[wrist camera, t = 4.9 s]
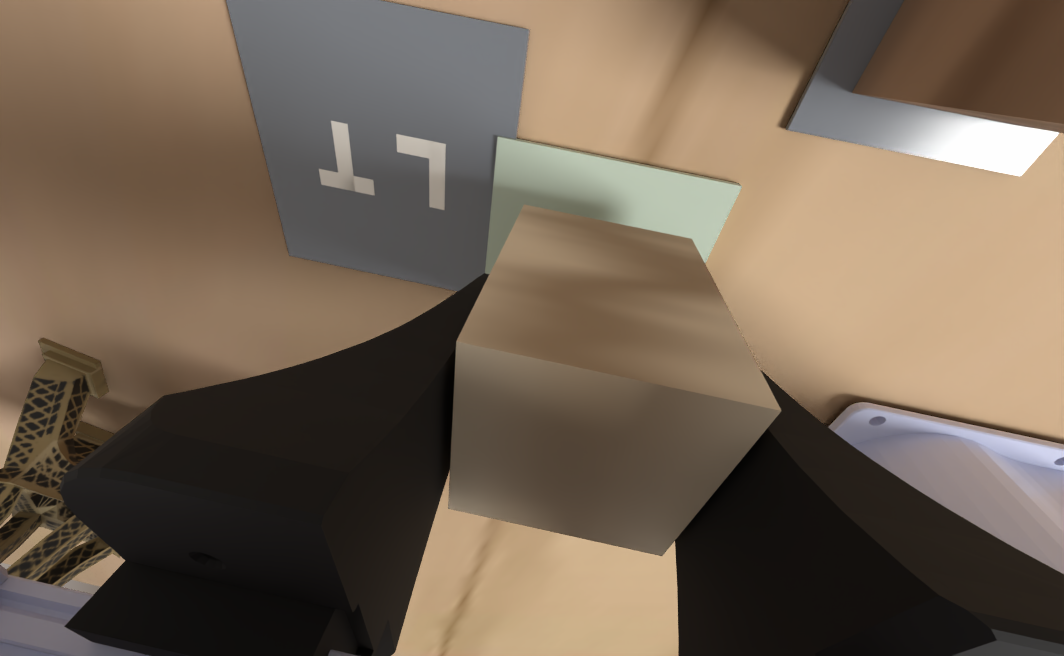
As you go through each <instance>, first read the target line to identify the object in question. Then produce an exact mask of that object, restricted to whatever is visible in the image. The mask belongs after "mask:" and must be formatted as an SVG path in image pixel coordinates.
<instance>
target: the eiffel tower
mask: <svg viewBox="0 0 1064 656" xmlns="http://www.w3.org/2000/svg"><path fill="white" fill-rule="evenodd" d="M38 342H39V345H40V347H41V349H42V352H43V354H42V355H43V358H44V360H45V363H44V364H43V365H42V366H41V368H40V369H39V370H38V372H37V373H36V374H35V376H34V378H33V381H32V384H31V387H30V390H29V393H28V395H27V398H26V401H25V404H24V407H23V410H22V412H21V415H20V418H19V421H18V424H17V427H16V430H15V433H14V436H13V439H12V442H11V446H10V449H9V452H8V455H7V458H6V461H5V464H4V468H2V469H0V525H1V524H2V523H3V522H4V521H5V520H6V519H7V518H8V517H9V516H10V515H11V513H12V518H11V519H10V520H9V521H8V522H7V523H6V524H5V525H4V526H3V527H2V528H0V563H2V562H3V561H4V560H5V559H6V558H7V557H8V556H10V555H11V554H12V553H13V552H14V551H15V550H16V549H18V548H19V547H20V546H21V545H22V544H23V543H24V542H25V541H26V539H27V538H28V537H29V536H30V535H31V534H32V533H33V532H34V531H35V530H36V529H37V528H38V527H44V528H47V529H50V530H52V531H53V532H51V533H50V534H49V535H47V536H46V537H45V538H44V539H42V540H41V541H40V542H39V543H38V544H36V545H35V546H34V547H33V548H32V549H30V550H29V551H28V552H27V553H26V554H24V555H23V556H22V557H21V558H20V559H19V560H17V561H16V562H15V563H14V564H13V565H11V566H10V567H9V568H8V569H7V572H8V575H12V576H16V577H20V578H25V579H29V580H33V581H38V582H42V583H46V584H51V585H55V586H59V587H62V586H63V585H64V584H66V583H67V582H68V581H70V580H71V579H72V578H74V577H75V576H76V575H78V574H79V573H80V572H82V571H84V570H85V569H87V568H89V567H91V566H92V565H94V564H96V563H97V562H99V561H101V560H102V559H104V558H106V557H107V556H109V555H111V554H112V553H113V554H114V555H116V556H117V557H119V558H120V555H119V554H118V553H117V552H115V551H114V550H113V549H112V548H111V547H110V546H109V545H108V544H106V543H105V542H104V541H103V540H102V539H101V538H100V537H98V536H97V535H96V534H95V533H94V532H93V531H92V530H91V529H89V528H88V527H87V526H86V525H85V524H84V523H83V522H82V521H80V520H79V519H78V518H77V517H76V516H75V515H74V514H73V513H72V511H71V510H70V509H69V508H68V507H67V506H66V505H65V503H64V501H63V498H62V496H61V494H60V483H61V481H62V478H63V476H64V474H65V473H66V472H68V471H69V470H70V469H71V468H73V467H74V466H75V465H76V464H78V463H79V462H80V461H82V460H83V459H84V458H85V457H87V456H88V455H89V454H90V453H92V452H93V451H94V450H96V449H97V448H98V447H99V446H101V445H102V444H103V443H104V442H106V441H107V440H108V439H110V438H111V437H112V436H113V435H115V434H113V433H110V432H108V431H105V430H103V429H100V428H97V427H95V426H92V425H89V424H87V423H84V422H81V421H80V419H81V417H82V414H83V412H84V409H85V406H86V404H87V401H88V398H89V396H93V397H96V398H98V399H99V398H100V397H101V396H103V395H104V394H106V393H107V392H109V389H108V386H107V383H106V379H105V376H104V373H103V369H102V366H101V362H100V361H99V360H96V359H94V358H91V357H89V356H87V355H84V354H82V353H79V352H77V351H74V350H72V349H69V348H67V347H64V346H62V345H60V344H57V343H55V342H52V341H50V340H47V339H45V338H43V339H41V340H39V341H38ZM75 433H76V435H75ZM74 435H75V436H74ZM81 541H86V542H85V543H83V544H81V545H79V546H77V547H75V546H76V545H78V544H79V543H80V542H81ZM74 547H75V548H74ZM71 549H72V550H71Z"/></svg>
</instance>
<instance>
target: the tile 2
mask: <svg viewBox="0 0 1064 656" xmlns="http://www.w3.org/2000/svg"><path fill="white" fill-rule="evenodd" d="M903 2H904V0H850V1H849V3H848V5H847V7H846V9H845V11H844V13H843V15H842V17H841V19H840V21H839V23H838V25H837V27H836V29H835V31H834V33H833V35H832V37H831V39H830V41H829V43H828V45H827V47H826V49H825V51H824V53H823V55H822V57H821V59H820V61H819V63H818V65H817V67H816V69H815V71H814V73H813V75H812V77H811V79H810V81H809V83H808V85H807V87H806V89H805V91H804V93H803V95H802V97H801V99H800V101H799V103H798V105H797V107H796V109H795V111H794V113H793V115H792V117H791V119H790V121H789V123H788V125H787V127H786V130H790V131H795V132H800V133H805V134H810V135H815V136H820V137H825V138H830V139H835V140H840V141H845V142H850V143H855V144H860V145H865V146H870V147H875V148H880V149H885V150H890V151H895V152H900V153H905V154H910V155H915V156H920V157H925V158H930V159H935V160H940V161H945V162H950V163H955V164H960V165H965V166H970V167H975V168H980V169H985V170H991V171H996V172H1001V173H1006V174H1011V175H1016V176H1021V175H1022V174H1023V173H1024V172H1025V171H1026V170H1027V169H1028V167H1029V166H1030V165H1031V164H1032V163H1033V162H1034V161H1035V160H1036V159H1037V157H1038V156H1039V155H1040V154H1041V153H1042V152H1043V151H1044V150H1045V148H1046V147H1047V146H1048V145H1049V144H1050V143H1051V142H1052V141H1053V140H1054V138H1055V137H1056V136H1057V135H1058V134H1059V132H1053V131H1047V130H1041V129H1035V128H1029V127H1023V126H1017V125H1012V124H1007V123H1002V122H997V121H992V120H987V119H982V118H977V117H971V116H966V115H961V114H956V113H951V112H946V111H941V110H936V109H931V108H926V107H921V106H915V105H910V104H905V103H900V102H895V101H890V100H885V99H880V98H875V97H870V96H865V95H859V94H854V93H852V92H853V90H854V88H855V86H856V85H857V83H858V81H859V79H860V77H861V76H862V74H863V72H864V70H865V69H866V67H867V65H868V63H869V62H870V60H871V58H872V56H873V55H874V53H875V51H876V49H877V47H878V46H879V44H880V42H881V40H882V39H883V37H884V35H885V33H886V32H887V30H888V28H889V26H890V25H891V23H892V21H893V19H894V17H895V16H896V14H897V12H898V10H899V9H900V7H901V5H902V3H903Z"/></svg>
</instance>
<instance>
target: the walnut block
mask: <svg viewBox="0 0 1064 656" xmlns="http://www.w3.org/2000/svg"><path fill="white" fill-rule="evenodd" d="M852 93H854V94H859V95H865V96H870V97H875V98H880V99H885V100H890V101H895V102H900V103H905V104H910V105H915V106H921V107H926V108H931V109H936V110H941V111H946V112H951V113H956V114H961V115H966V116H971V117H977V118H982V119H987V120H992V121H997V122H1002V123H1007V124H1012V125H1017V126H1023V127H1029V128H1035V129H1041V130H1047V131H1053V132H1059V133H1064V0H904V2H903V3H902V5H901V7H900V9H899V10H898V12H897V14H896V16H895V17H894V19H893V21H892V23H891V25H890V26H889V28H888V30H887V32H886V33H885V35H884V37H883V39H882V40H881V42H880V44H879V46H878V47H877V49H876V51H875V53H874V55H873V56H872V58H871V60H870V62H869V63H868V65H867V67H866V69H865V70H864V72H863V74H862V76H861V77H860V79H859V81H858V83H857V85H856V86H855V88H854V90H853V92H852Z"/></svg>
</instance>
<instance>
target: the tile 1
mask: <svg viewBox="0 0 1064 656" xmlns="http://www.w3.org/2000/svg"><path fill="white" fill-rule="evenodd" d="M226 2H227V6H228V10H229V14H230V18H231V22H232V26H233V30H234V34H235V38H236V42H237V46H238V50H239V54H240V58H241V62H242V66H243V70H244V74H245V78H246V83H247V87H248V91H249V95H250V99H251V103H252V107H253V111H254V115H255V119H256V123H257V127H258V131H259V135H260V139H261V143H262V147H263V151H264V155H265V159H266V163H267V167H268V171H269V175H270V179H271V183H272V187H273V191H274V196H275V200H276V204H277V208H278V212H279V216H280V220H281V224H282V228H283V232H284V236H285V240H286V244H287V248H288V252H289V256H294V257H298V258H303V259H308V260H312V261H317V262H322V263H327V264H331V265H336V266H341V267H345V268H350V269H355V270H360V271H364V272H369V273H374V274H378V275H383V276H388V277H393V278H397V279H402V280H407V281H411V282H416V283H421V284H426V285H430V286H435V287H440V288H444V289H449V290H454V291H459V290H461V289H462V288H464V287H465V286H466V285H468V284H469V283H471V282H472V281H473V280H475V279H476V278H478V277H479V276H481V275H482V274H484V273H485V267H486V256H487V245H488V235H489V224H490V213H491V203H492V192H493V181H494V171H495V160H496V149H497V139H498V136H502V137H507V138H512V139H517V132H518V124H519V116H520V107H521V99H522V91H523V83H524V75H525V66H526V58H527V50H528V42H529V33H530V30H528V29H523V28H518V27H513V26H508V25H503V24H498V23H493V22H488V21H483V20H477V19H472V18H467V17H462V16H457V15H452V14H447V13H442V12H437V11H432V10H427V9H421V8H416V7H411V6H406V5H401V4H396V3H391V2H386V1H381V0H226Z"/></svg>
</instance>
